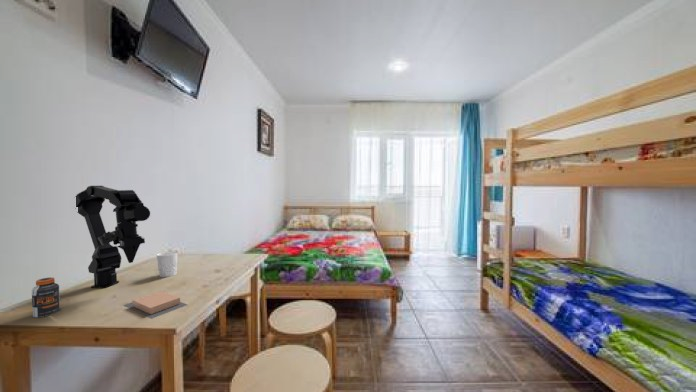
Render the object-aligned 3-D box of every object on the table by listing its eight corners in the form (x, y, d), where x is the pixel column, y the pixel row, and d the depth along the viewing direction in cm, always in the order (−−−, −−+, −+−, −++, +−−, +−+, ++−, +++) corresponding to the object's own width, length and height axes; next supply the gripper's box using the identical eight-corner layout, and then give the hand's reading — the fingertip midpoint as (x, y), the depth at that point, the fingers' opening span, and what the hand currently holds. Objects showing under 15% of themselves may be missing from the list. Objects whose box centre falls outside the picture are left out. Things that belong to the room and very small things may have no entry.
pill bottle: (35, 319, 84) (33, 283, 84) (30, 315, 88) (28, 280, 87) (62, 312, 89) (60, 277, 89) (57, 307, 93) (55, 274, 92)
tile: (132, 300, 92) (150, 307, 86) (161, 290, 100) (180, 297, 94) (132, 306, 92) (150, 315, 86) (161, 297, 100) (180, 304, 94)
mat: (123, 306, 93) (123, 305, 93) (158, 294, 103) (158, 293, 103) (151, 319, 84) (151, 318, 84) (187, 305, 93) (187, 304, 93)
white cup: (182, 273, 128) (181, 252, 128) (166, 278, 121) (165, 256, 120) (169, 271, 131) (169, 250, 130) (153, 276, 123) (152, 254, 123)
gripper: (94, 225, 106) (98, 266, 106) (103, 225, 94) (108, 270, 94) (130, 221, 114) (134, 258, 115) (142, 220, 102) (147, 262, 103)
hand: (130, 262), depth 106 cm, fingers closed
